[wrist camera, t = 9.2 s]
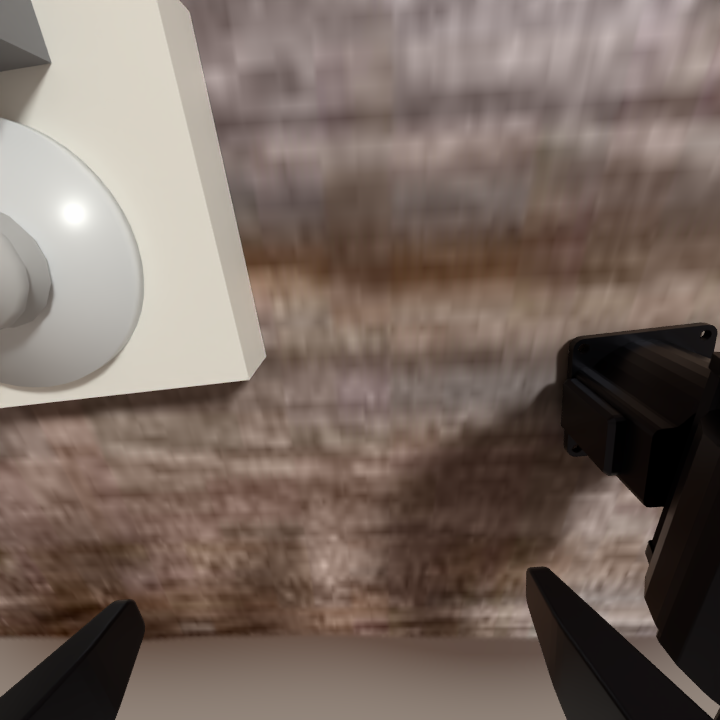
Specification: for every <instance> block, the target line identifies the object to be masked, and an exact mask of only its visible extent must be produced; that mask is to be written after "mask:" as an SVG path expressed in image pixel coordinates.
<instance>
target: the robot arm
mask: <svg viewBox="0 0 720 720" xmlns="http://www.w3.org/2000/svg"><path fill="white" fill-rule="evenodd" d="M703 331H705V333H704V335H703V336H702V337H700V335H701V333H702V332H703ZM716 337H717V329H716V327H714V326H713V325H710V324H707V323H693V324H684V325H675V326H666V327H657V328H649V329H640V330H631V331H622V332H613V333H605V334H596V335H587V336H580V337H576V338H575V339H573V340H572V342H571V343H570V346H569V358H568V376H567V380H566V381H565V382H564V384H563V399H562V418H561V426H562V428H563V429H564V430H565V431H564V448H565V450H566V451H567V452H568V453H569V455H571V456H575V457H578V456H589V457H590V459H591V460H592V461H593V462H594V463H595V464H596V465H597V466H598V467H599V468H600V470H601V471H602V472H604V473H605V474H606V475H608V476H615V475H616V476H617V477H618V478H619V479H620V480H621V481H622V482H623V483H624V484H625V486H626V487H627V488H628V489H629V490H630V491H631V492H632V493H633V494H634V495H635V496H636V497H637V498H638V499H639V500H640V501H641V502H642V503H643V505H645V506H646V507H664V508H663V511H662V514H661V517H660V520H659V523H658V525H657V528H656V531H655V534H654V537H653V540H650V541H649V542H648V545H647V548H646V550H645V554H646V557H647V560H648V562H649V567H648V570H647V573H646V576H645V592H644V598H645V600H646V603H647V605H648V608H649V610H650V613H651V615H652V618H653V620H654V623H655V625H656V626H657V628H658V630H657V635H656V637H657V639H658V641H659V643H660V644H661V645H662V646H663V648H664V649H665V650H666V652H667V653H668V654H669V656H670V657H671V658H672V660H673V661H674V662H675V664H676V665H677V666H678V667H679V668H680V669H681V670H682V671H683V672H684V673H685V674H686V675H687V676H688V677H689V678H690V679H691V680H692V681H693V682H694V683H695V684H696V685H697V686H698V687H699V688H700V689H701V690H702V691H703V692H704V693H705V694H706V695H708V696H709V697H710V698H711V699H712V700H714V701H715V702H716V703H717V704H719V705H720V352H714V348H715V343H716ZM582 344H585V348H584V349H583V350H581V351H579V350H578V349H579V346H580V345H582ZM576 444H578V446H577V447H576V448H573V446H574V445H576ZM526 599H527V604H528V608H529V611H530V614H531V617H532V621H533V624H534V627H535V630H536V633H537V636H538V640H539V643H540V646H541V649H542V652H543V655H544V659H545V662H546V665H547V668H548V671H549V675H550V678H551V680H552V683H553V686H554V689H555V692H556V694H557V697H558V699H559V702H560V704H561V707H562V709H563V711H564V714H565V716H566V719H567V720H713V719H712V718H711V717H710V716H709V715H708V714H707V713H706V712H705V711H704V710H702V709H701V708H700V707H699V706H698V705H697V704H696V703H695V702H694V701H693V700H692V699H690V698H689V697H688V696H687V695H686V694H685V693H684V692H683V691H682V690H681V689H680V688H678V687H677V686H676V685H675V684H674V683H673V682H672V681H671V680H670V679H669V678H668V677H667V676H665V675H664V674H663V673H662V672H661V671H660V670H659V669H658V668H656V666H655V665H653V664H652V663H651V662H650V661H649V660H648V659H647V658H646V657H645V656H644V655H643V654H641V653H640V652H639V651H638V650H637V649H636V648H635V647H634V646H633V645H632V644H630V643H629V642H628V641H627V640H626V639H625V638H624V637H623V636H622V635H621V634H620V633H619V632H617V631H616V630H615V629H614V628H613V627H612V626H611V625H610V624H609V623H608V622H607V621H605V620H604V619H603V618H602V617H601V616H600V615H599V614H598V613H597V612H596V611H595V610H593V609H592V608H591V607H590V606H589V605H588V604H587V603H586V602H585V601H584V600H583V599H582V598H580V597H579V596H578V595H577V594H576V593H575V592H574V591H573V590H572V589H571V588H570V587H568V586H567V585H566V584H565V583H564V582H563V581H562V580H561V579H560V578H559V577H558V576H556V575H555V574H554V573H553V572H552V571H551V570H550V569H549V568H547V567H530V568H528V569H527V572H526ZM144 632H145V623H144V620H143V618H142V616H141V614H140V611H139V609H138V607H137V605H136V603H135V601H134V600H132V599H127V600H117V601H114V602H113V603H111V604H110V605H109V606H107V607H106V608H105V609H104V610H103V611H102V612H100V613H99V614H98V615H97V616H96V617H94V618H93V619H92V620H91V621H90V622H89V623H87V624H86V625H85V626H84V627H83V628H82V629H80V630H79V631H78V632H77V633H76V634H74V635H73V636H72V637H71V638H70V639H69V640H67V641H66V642H65V643H64V644H63V645H61V646H60V647H59V648H58V649H57V650H56V651H54V652H53V653H52V654H51V655H50V656H48V657H47V658H46V659H45V660H44V661H43V662H41V663H40V664H39V665H38V666H37V667H36V668H34V670H32V671H31V672H30V673H28V674H27V675H26V676H25V677H24V678H23V679H22V680H20V681H19V682H18V683H17V684H15V685H14V686H13V687H12V688H11V689H10V690H8V691H7V692H6V693H5V694H4V695H3V696H1V697H0V720H115V718H116V716H117V713H118V710H119V708H120V705H121V702H122V699H123V696H124V693H125V690H126V687H127V684H128V681H129V678H130V675H131V672H132V669H133V666H134V663H135V660H136V657H137V654H138V651H139V648H140V645H141V643H142V640H143V637H144ZM714 720H720V709H719V710H718V713H717V714H716V716H715V718H714Z"/></svg>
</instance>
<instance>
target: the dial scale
mask: <svg viewBox="0 0 720 720" xmlns="http://www.w3.org/2000/svg"><path fill="white" fill-rule="evenodd" d="M0 212H1V213H4V214H6V215H8V216H10V217H11V218H12V219H13V220H14V221H15V222H16V223H17V224H18V225H20V226H21V227H22V228H23V229H24V230H25V231H26V232H27V233H28V234H29V235H30V236H32V237H33V238H34V239H35V240H36V242H37V243H38V245H39V247H40V249H41V250H42V252H43V254H44V255H45V257H46V259H47V261H48V266H49V271H50V276H51V285H50V290H49V295H48V299H47V304H46V307H45V308H44V309H43V310H42V311H41V313H40V314H39V315H38V316H37V317H36V318H35V319H34V321H32V322H29V323H26V324H23V325H21V326H18V327H15V328H8V327H7V328H4V329H1V330H0V408H5V407H14V406H23V405H31V404H40V403H49V402H58V401H67V400H76V399H85V398H94V397H102V396H111V395H120V394H129V393H138V392H147V391H156V390H164V389H173V388H182V387H191V386H200V385H209V384H218V383H227V382H235V381H244V380H250V378H251V377H252V375H253V374H254V373H255V371H256V370H257V369H258V367H259V366H260V364H261V363H262V362H263V360H264V359H265V357H266V353H265V349H264V344H263V340H262V335H261V331H260V326H259V322H258V317H257V313H256V308H255V304H254V299H253V295H252V290H251V286H250V281H249V277H248V272H247V268H246V263H245V259H244V254H243V250H242V245H241V241H240V236H239V232H238V227H237V223H236V218H235V214H234V209H233V205H232V201H231V196H230V192H229V187H228V183H227V178H226V174H225V169H224V165H223V160H222V156H221V151H220V147H219V142H218V138H217V133H216V129H215V124H214V120H213V115H212V111H211V106H210V102H209V97H208V93H207V88H206V84H205V79H204V75H203V70H202V66H201V61H200V57H199V52H198V48H197V43H196V39H195V34H194V30H193V25H192V21H191V16H190V12H189V11H188V10H187V9H186V8H185V6H184V5H183V4H182V3H181V2H180V1H179V0H0Z"/></svg>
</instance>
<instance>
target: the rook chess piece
mask: <svg viewBox="0 0 720 720" xmlns="http://www.w3.org/2000/svg"><path fill="white" fill-rule="evenodd" d="M50 285H51V276H50V271H49V266H48V261H47V259H46V257H45V255H44V254H43V252H42V250H41V249H40V247H39V245H38V243H37V242H36V240H35V239H34V238H33V237H32V236H30V235H29V234H28V233H27V232H26V231H25V230H24V229H23V228H22V227H21V226H20V225H18V224H17V223H16V222H15V221H14V220H13V219H12V218H11V217H10V216H8V215H6V214H4V213H1V212H0V330H1V329H4V328H7V327H8V328H15V327H18V326H21V325H23V324H26V323H29V322H32V321H34V319H35V318H36V317H37V316H38V315H39V314H40V313H41V311H42V310H43V309H44V308H45V307H46V304H47V299H48V295H49V290H50Z"/></svg>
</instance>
